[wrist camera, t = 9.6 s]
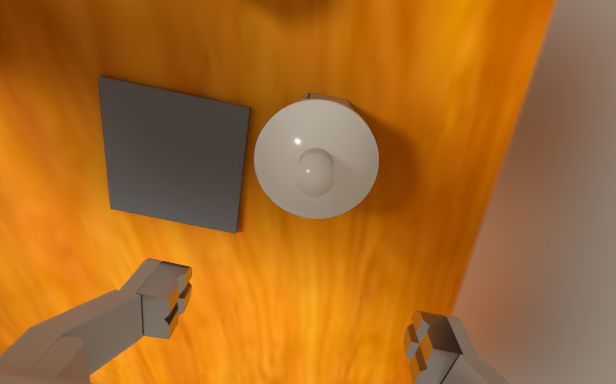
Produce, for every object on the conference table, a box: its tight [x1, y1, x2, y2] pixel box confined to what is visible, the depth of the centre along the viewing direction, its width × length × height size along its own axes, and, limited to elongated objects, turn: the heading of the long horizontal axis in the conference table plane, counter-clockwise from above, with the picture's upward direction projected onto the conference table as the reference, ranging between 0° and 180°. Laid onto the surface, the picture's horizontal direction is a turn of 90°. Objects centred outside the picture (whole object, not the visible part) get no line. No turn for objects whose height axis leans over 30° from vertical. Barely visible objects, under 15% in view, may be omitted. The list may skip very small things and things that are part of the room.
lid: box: [254, 98, 379, 219], centre depth 24 cm, size 10×10×4 cm
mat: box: [98, 76, 251, 234], centre depth 32 cm, size 14×14×1 cm
